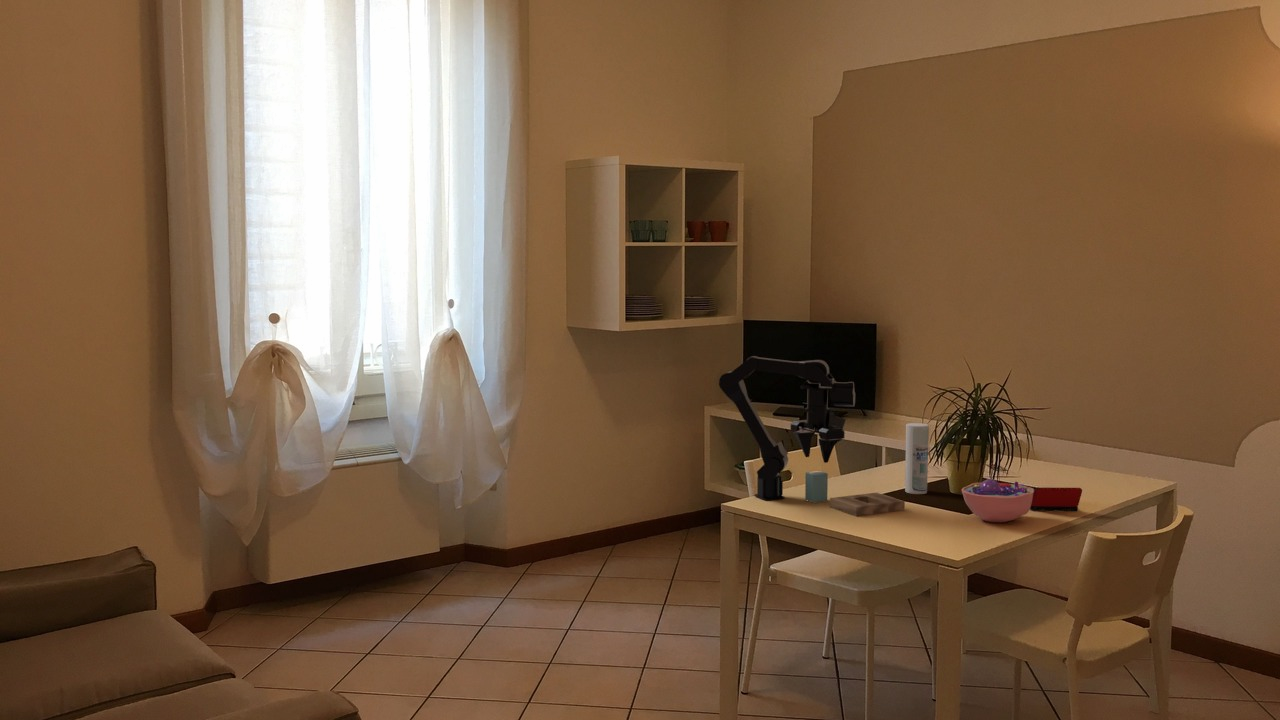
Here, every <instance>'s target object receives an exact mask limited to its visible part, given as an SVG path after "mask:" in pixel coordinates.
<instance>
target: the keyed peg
mask: <svg viewBox="0 0 1280 720" xmlns="http://www.w3.org/2000/svg"><path fill="white" fill-rule="evenodd" d="M828 476H829V475H828V472H825V471H824V470H818V471H808V472H805V487H804V488H805V489H804V490H805V494H804V495H805V496H804V497H805V499H804V500H805V501H806V500H808V501H811V502H817V503H820V502H819V501H825V502H828V490H829V489H828V481H829V477H828ZM808 501H807V502H808ZM811 502H810V503H811Z"/></svg>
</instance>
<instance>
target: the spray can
mask: <svg viewBox="0 0 1280 720" xmlns="http://www.w3.org/2000/svg"><path fill="white" fill-rule="evenodd" d="M929 428H930V426H929V424H927V423H923V422H922V423H920V422H910V423H909V422H908V423H906V424H905V466H904V467H905V469H904V471H905V472H904V473H905V477H904V480H905V481H904V482H905V483H904V487H905V488H904V491H905V492H906V493H907V494H912V495H924V494H927V493H928V475H929V474H928V472H929V471H928V469H929V468H928V467H929V464H928V463H929V442H930V441H929V439H930V438H929V436H930V435H929V434H930V431H929V430H930V429H929Z"/></svg>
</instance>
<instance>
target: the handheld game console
mask: <svg viewBox="0 0 1280 720" xmlns="http://www.w3.org/2000/svg"><path fill="white" fill-rule="evenodd" d="M1082 493H1083V489H1082V488H1081V487H1035V489H1034V493H1033V501H1032V504H1031V507H1030V510H1029V511H1032V512H1078V511H1079V505H1080V504H1079V503H1080V501H1081V496H1082Z"/></svg>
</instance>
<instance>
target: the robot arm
mask: <svg viewBox="0 0 1280 720" xmlns="http://www.w3.org/2000/svg"><path fill="white" fill-rule="evenodd" d="M755 371H756V372H766V373H774V374H781V375H782V374H783V375H788V376H789V375H790V376H791V375H792V376H795V377H799V378H801V379H803V380H805V381H804V383H802V385H800V390H807V391H806V393H807V394H806V395H807V398H806V405H807V406H806V407H803V412H804V413H806V419H801V420H799V419H798V420H793V421H791V423H790V431H793V432H792V433H793V435H794V436H795V438H796V440H797V442H798V443H799V446H800V448H801V450H802V452H803V454H804V456H805V458H810V455H811V454H810V453H811V447H812V446H811V445H812V438H813V436H814V435H815V434H818V435H819V438H818V443H819V448H820V452H821V456H822V460H823V463H825V464H827V463H829V461H830V458H831V455H832V452H833V449H834V447H835V446H836V444H837V443H838V442H840V441H842V440H844V439H845V437H846V436H845V434H846V431H845V429H844V427H845V423H846V420H847V419H845V418H844V417H840V416H837V415H835V414H834V412H832V409H831V408H829V407H828V403H829V402H830V403H831V404H833V406H836V407H855V404H856V392H855V382H854V381H848V382H841V381H840V382H839V381H836V379H835V378H834V377H833V375H832V374H831V373H830V367H829V364H827V362H826V361H825V360H822V359H813V360H811V359H810V360H801V361H796V360H795V361H793V360H784V359H778V358H777V359H776V358H768V357H759V356H757V355H753V356H750V357H748V358H747V359H746V360H745V361H744V362H743V363H741V364H740V365H739V366H737V367H736V368H735V369H734V370H730V371H728V372H727V371H726V372H725V373H723V374H722V375H721V376H719V381H718V387H719V388H720V389H721V391H722V393H723V394H724V395H725V396H726V397H727V398H728V399H729V400H730V401H731V402H732V403H733V404H735V406H736V408H737V410H738V412H739V413H740V416H741V417H742V419H743V420H744V422H745V424H746V425H747V427H748V429H749V431H750V433H751V434H752V437H753V438H754V441H756V443H757V445H758V448H759V450H760V455H761V459H762V462H763V465H762V466H761V467H760V468H759V469H758V470H757V471H756V474H757V477H756V478H757V486H756V487H757V488H756V490H757V493H754V497H755V498H759V499H761V500H764V501H772V500H779V499H781V500H782V499H785V496H784V495H783V488H784V486H783V484H784V482H783V480H782V475H780V474H781V472H782V471H784V469H785V468H786V467H787V466H788V464H789V463H788V462H789V457H788V454H789V452H788V451H787V450H786V449H785V447H784V445H783V442H782V441H779V442H778V443H777V441H775V440H774V439H773V438H772V437H771V435H770V433H769V431H768V429H767V428H766V425H765V424H764V423H763V421H762V419H761V417H760V416H759V414H758V411H757V410H756V408H755V407H754V405H753V403H752V402H751V399H750V398H749V395H748V391H747V388H746V387H747V386H746V384H745V381H744V380H746V379H747V378H748V377H749V376H751V374H752V373H754V372H755ZM821 385H822V386H821Z"/></svg>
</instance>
